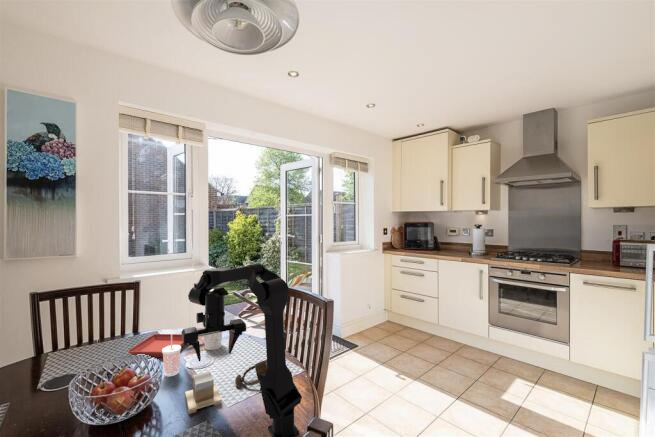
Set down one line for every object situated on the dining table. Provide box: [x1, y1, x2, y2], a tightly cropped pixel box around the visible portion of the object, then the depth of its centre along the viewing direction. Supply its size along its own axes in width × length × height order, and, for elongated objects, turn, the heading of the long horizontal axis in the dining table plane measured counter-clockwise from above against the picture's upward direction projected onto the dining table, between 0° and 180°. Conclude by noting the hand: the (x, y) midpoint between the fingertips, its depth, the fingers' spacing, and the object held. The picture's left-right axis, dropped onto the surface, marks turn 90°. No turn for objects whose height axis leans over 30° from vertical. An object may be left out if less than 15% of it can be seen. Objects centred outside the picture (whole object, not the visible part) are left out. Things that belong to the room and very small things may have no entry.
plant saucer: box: [127, 333, 186, 358], centre depth 128 cm, size 18×18×3 cm
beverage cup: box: [162, 333, 182, 377], centre depth 109 cm, size 6×6×14 cm
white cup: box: [202, 325, 223, 351], centre depth 131 cm, size 8×8×10 cm
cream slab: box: [184, 383, 223, 415], centre depth 93 cm, size 10×9×2 cm
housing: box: [192, 370, 215, 403], centre depth 93 cm, size 6×5×6 cm
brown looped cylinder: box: [234, 358, 267, 388], centre depth 104 cm, size 7×13×10 cm
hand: (214, 357), depth 96 cm, fingers open, 9 cm apart
